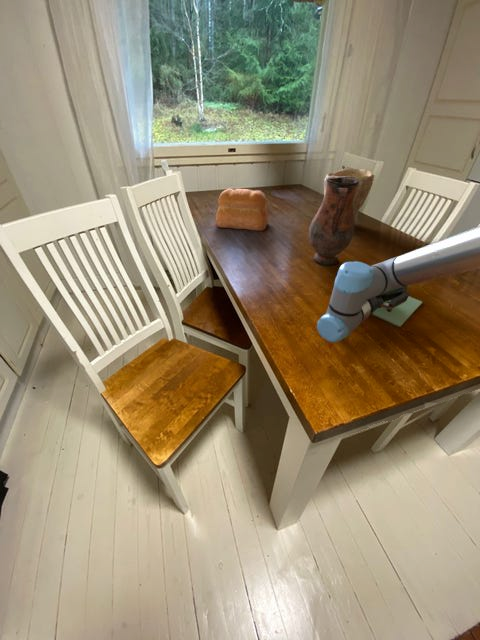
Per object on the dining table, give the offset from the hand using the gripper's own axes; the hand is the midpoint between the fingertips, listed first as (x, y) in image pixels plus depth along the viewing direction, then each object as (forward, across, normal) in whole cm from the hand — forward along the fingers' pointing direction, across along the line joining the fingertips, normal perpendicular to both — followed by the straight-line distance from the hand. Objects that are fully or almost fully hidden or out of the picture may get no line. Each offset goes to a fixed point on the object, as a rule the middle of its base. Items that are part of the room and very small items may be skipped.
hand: (393, 278), depth 88 cm
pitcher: (+6, -28, -7) cm, 29 cm away
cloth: (-5, 0, -6) cm, 8 cm away
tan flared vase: (+50, -48, -7) cm, 70 cm away
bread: (+10, -81, -7) cm, 82 cm away
